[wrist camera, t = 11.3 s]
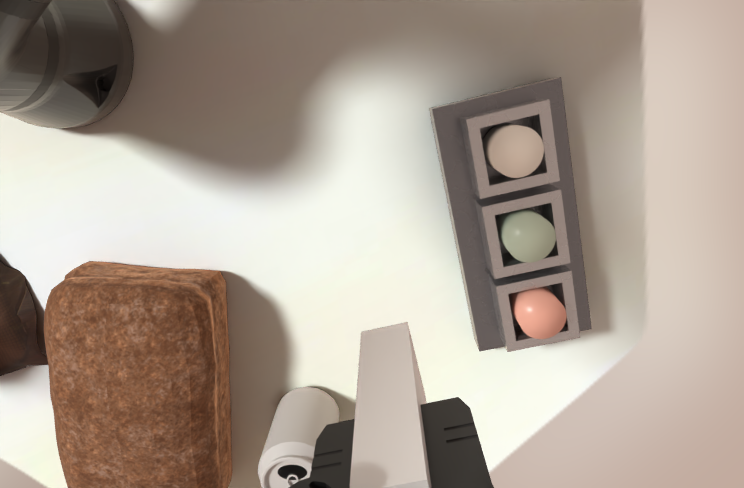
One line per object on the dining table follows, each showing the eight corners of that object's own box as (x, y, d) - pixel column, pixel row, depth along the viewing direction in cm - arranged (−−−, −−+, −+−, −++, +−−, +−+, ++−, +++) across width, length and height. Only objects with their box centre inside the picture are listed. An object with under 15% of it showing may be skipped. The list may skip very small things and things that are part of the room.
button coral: (504, 284, 50) (516, 302, 46) (547, 275, 50) (563, 292, 45) (511, 322, 51) (523, 343, 47) (553, 313, 51) (569, 334, 46)
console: (428, 108, 48) (436, 110, 42) (549, 78, 47) (575, 75, 41) (474, 338, 55) (486, 368, 49) (580, 316, 54) (606, 344, 48)
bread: (106, 470, 62) (47, 550, 51) (80, 252, 53) (3, 292, 43) (239, 479, 62) (208, 561, 51) (234, 262, 54) (197, 305, 43)
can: (339, 382, 57) (328, 453, 46) (341, 435, 60) (332, 516, 48) (276, 382, 57) (249, 453, 46) (280, 435, 60) (256, 516, 48)
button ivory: (477, 129, 45) (488, 132, 41) (524, 118, 45) (540, 120, 41) (485, 175, 47) (496, 183, 42) (531, 164, 46) (547, 171, 42)
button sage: (492, 210, 48) (503, 221, 43) (536, 200, 47) (552, 210, 43) (499, 252, 49) (510, 267, 45) (542, 242, 48) (558, 256, 44)
